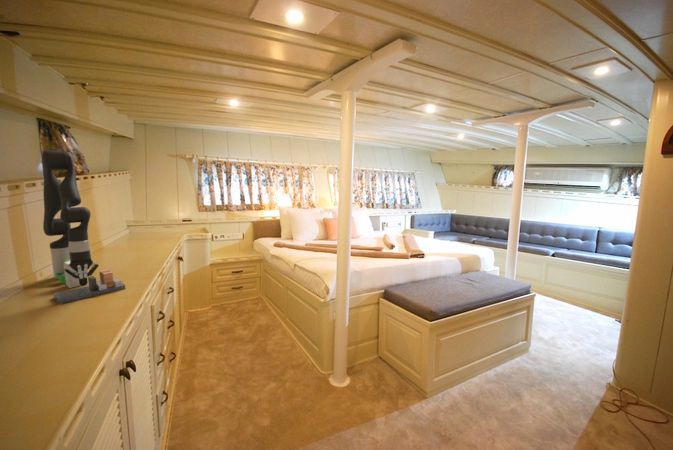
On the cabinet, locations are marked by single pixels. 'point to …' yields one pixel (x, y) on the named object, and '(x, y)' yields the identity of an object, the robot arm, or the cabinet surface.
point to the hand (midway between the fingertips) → (83, 285)
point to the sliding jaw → (96, 284)
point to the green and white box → (62, 275)
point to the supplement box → (71, 277)
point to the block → (107, 277)
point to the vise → (86, 292)
